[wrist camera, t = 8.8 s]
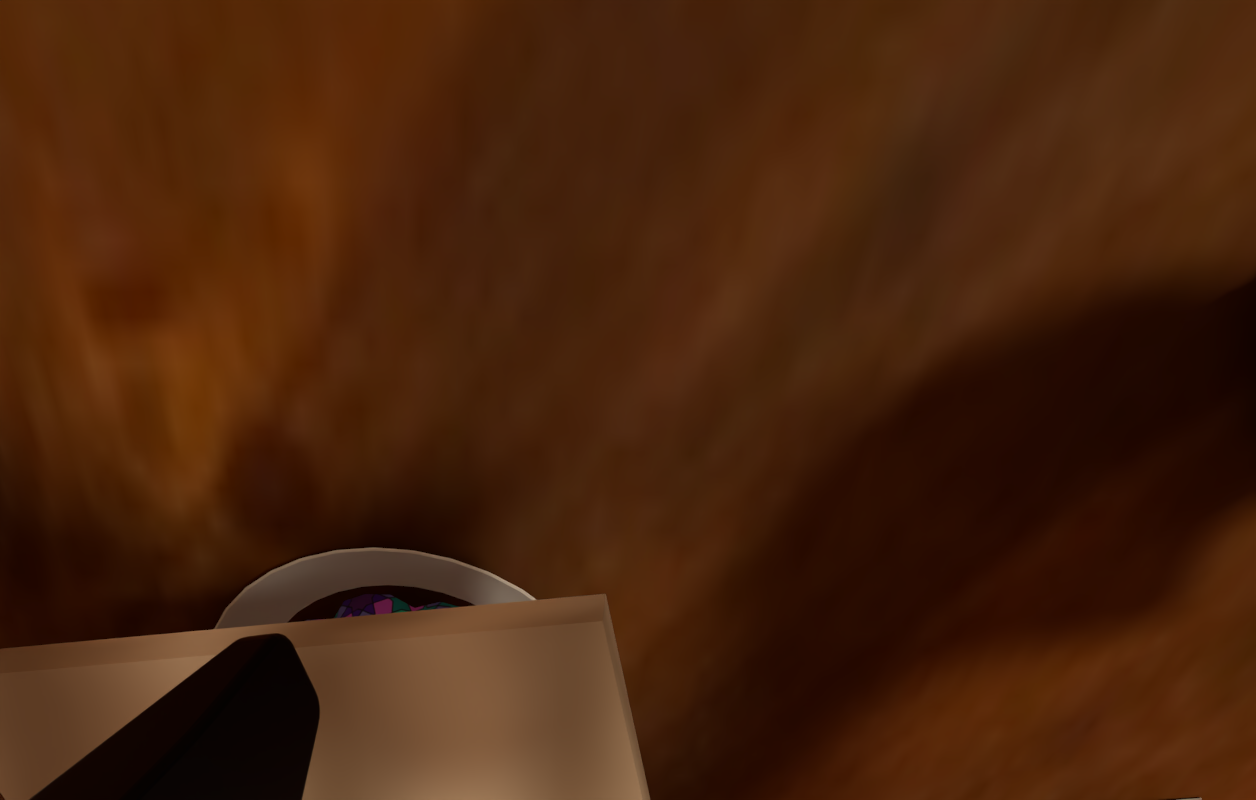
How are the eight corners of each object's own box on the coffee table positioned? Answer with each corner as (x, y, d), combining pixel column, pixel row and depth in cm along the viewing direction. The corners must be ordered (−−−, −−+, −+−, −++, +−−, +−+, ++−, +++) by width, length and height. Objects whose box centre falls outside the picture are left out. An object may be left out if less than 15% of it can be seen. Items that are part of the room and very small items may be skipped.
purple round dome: (549, 853, 30) (527, 1019, 26) (200, 765, 29) (111, 924, 25) (664, 600, 25) (662, 754, 20) (239, 478, 24) (134, 612, 19)
